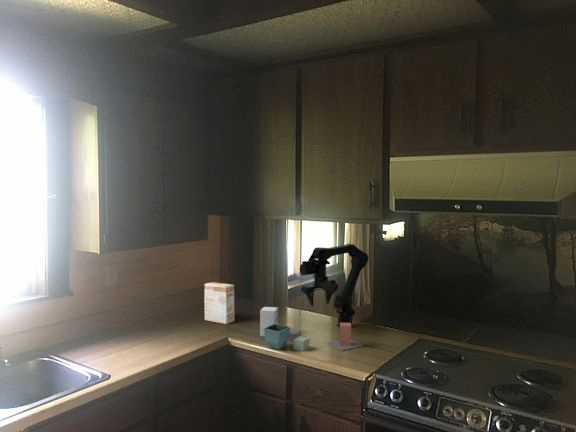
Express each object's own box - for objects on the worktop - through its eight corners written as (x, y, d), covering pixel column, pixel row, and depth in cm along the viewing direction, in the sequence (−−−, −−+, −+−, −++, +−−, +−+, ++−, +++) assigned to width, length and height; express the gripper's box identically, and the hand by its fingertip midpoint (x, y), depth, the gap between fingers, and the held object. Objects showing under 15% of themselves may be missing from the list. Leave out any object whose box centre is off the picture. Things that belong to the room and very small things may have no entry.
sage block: (298, 346, 223) (298, 336, 223) (308, 348, 221) (308, 338, 221) (293, 349, 219) (293, 339, 219) (303, 351, 217) (303, 341, 216)
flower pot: (280, 352, 215) (280, 331, 215) (263, 348, 220) (263, 328, 219) (290, 346, 223) (290, 326, 222) (274, 342, 227) (274, 323, 227)
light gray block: (291, 339, 234) (291, 329, 233) (300, 340, 231) (300, 331, 231) (285, 341, 229) (285, 332, 229) (295, 343, 227) (295, 334, 226)
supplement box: (274, 337, 235) (274, 311, 235) (259, 336, 237) (259, 310, 236) (278, 332, 243) (278, 307, 242) (263, 331, 244) (263, 306, 243)
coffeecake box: (234, 321, 262) (234, 284, 261) (226, 324, 256) (225, 287, 255) (213, 317, 270) (212, 281, 269) (204, 320, 264) (203, 283, 263)
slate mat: (348, 339, 233) (348, 338, 233) (363, 346, 223) (363, 345, 223) (327, 343, 226) (327, 342, 226) (342, 350, 217) (342, 349, 217)
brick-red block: (339, 341, 228) (339, 322, 227) (350, 342, 227) (351, 322, 226) (339, 345, 223) (339, 325, 222) (350, 346, 222) (351, 326, 221)
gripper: (313, 278, 232) (313, 311, 233) (345, 274, 241) (345, 306, 242) (300, 274, 241) (300, 306, 242) (331, 270, 251) (331, 301, 252)
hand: (319, 305), depth 244 cm, fingers open, 9 cm apart
